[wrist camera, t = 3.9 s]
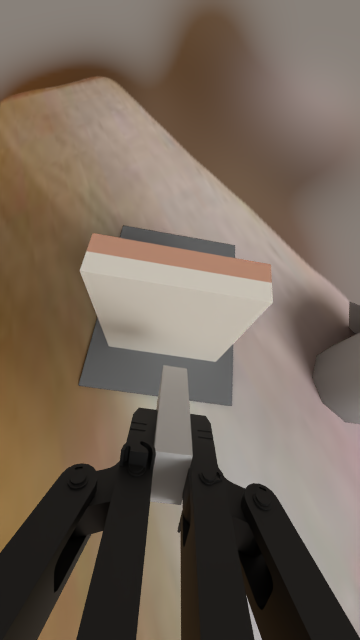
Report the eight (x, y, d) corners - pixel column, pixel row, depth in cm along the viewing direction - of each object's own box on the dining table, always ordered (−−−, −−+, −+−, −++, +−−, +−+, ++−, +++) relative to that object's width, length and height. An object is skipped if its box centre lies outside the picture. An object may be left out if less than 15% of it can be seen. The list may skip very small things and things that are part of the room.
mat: (230, 405, 27) (231, 405, 27) (79, 385, 26) (78, 385, 26) (234, 247, 37) (235, 245, 36) (123, 227, 35) (123, 225, 35)
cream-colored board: (215, 361, 28) (272, 302, 16) (108, 346, 28) (79, 270, 15) (216, 337, 30) (270, 264, 17) (114, 321, 29) (92, 233, 16)
